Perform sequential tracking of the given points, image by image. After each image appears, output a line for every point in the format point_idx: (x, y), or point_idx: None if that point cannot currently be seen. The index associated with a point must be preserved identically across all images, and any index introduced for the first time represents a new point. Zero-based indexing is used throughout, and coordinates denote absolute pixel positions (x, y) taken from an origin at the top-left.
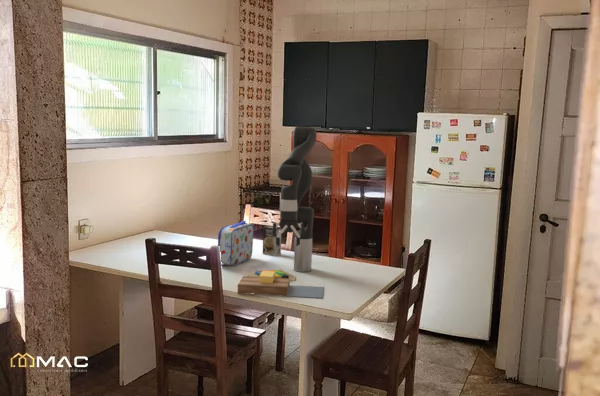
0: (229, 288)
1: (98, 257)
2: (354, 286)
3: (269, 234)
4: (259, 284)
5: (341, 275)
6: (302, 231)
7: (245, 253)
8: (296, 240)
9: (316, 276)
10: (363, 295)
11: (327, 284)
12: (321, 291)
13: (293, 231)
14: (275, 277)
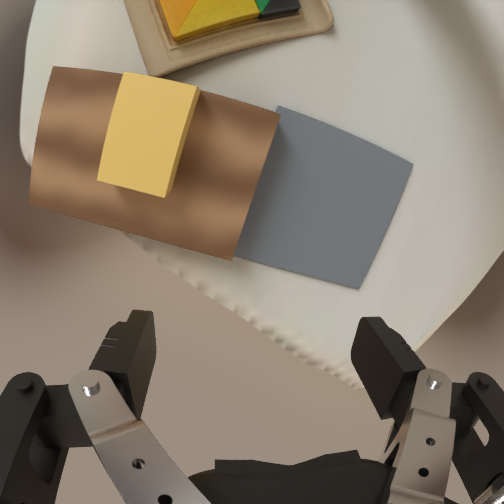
0: (23, 129)
1: None
2: (495, 176)
3: None
4: (108, 206)
5: (496, 44)
6: (465, 466)
7: None
8: (381, 359)
9: (422, 12)
10: (474, 268)
11: (436, 124)
12: (384, 220)
13: (400, 443)
14: (222, 23)
